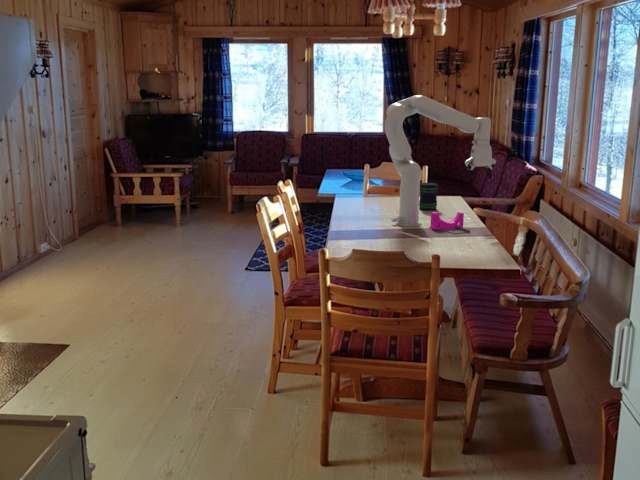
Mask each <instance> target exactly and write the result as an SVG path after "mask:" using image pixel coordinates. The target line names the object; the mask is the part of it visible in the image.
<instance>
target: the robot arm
mask: <svg viewBox="0 0 640 480" xmlns="http://www.w3.org/2000/svg"><path fill="white" fill-rule="evenodd" d="M385 113H386V118H385V122H384V132H385V135H386V138H387V141H388V143H389V148H388V152H389V156H390V158H391V160H392V163H393V165H394V168H395V170H396V172H397V174H398V175H399V176H400V185H399V186H400V187H399V210H398V212H399V214H398V215H397V217H392V218H390V219H391V222H392V223H395V224H396V225H397V226H398V225H399V226H403V227H416V226H421V225H422V222H421V221H420V220H419V212H420V211H419V210H420V209H419V200H420V183H421V178H422V169H421V166H420V165H419V163H417V162H416V161H414V159H413V158H412V156H411V155H412V147H411V145H410V143H409V141H408V138H407V137H406V134H405V132H404V127H403V123H404V121H405V119H406V118H407V117H410V116H413V115H415V114H420V115H422V116H423V117H427V118H429V119H430V120H433V121H436V122H437V123H441V124H444V125H449V126H452V127H455V128H457V129H458V130H459V131H461V132H463V133H467V134H474V137H473V140H472V141H471V144H472V147H471V151H470V158H468V159H466V160H465V161H464V164H465V167H466V169H467V170H468V178H469V179H474V177H475V170H474V169H475V168H476V167H486V169H485V177H486V178H487V179H488V178H489V179H490V178H491V176H492V170H493V168H494V167H495V166H496V163H497V160H496V159H495V158H493V153H492V152H493V151H492V145H490V141H491V125H492V120H491V118H489V117H474V116H472V115H469V114H467V113H464V112H462V111H459V110H457V109H455V108H452V107H451V106H448V105H445V104H444V103H442V102H438V101H436V100H434V99H432V98H430V97H428V96H425V95H422V94H417V95H412V96H410V97H407V98H405V99H401V100H399V101H397V102H394V103H392V104H389V106H388V107H387V109H386V112H385Z"/></svg>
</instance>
